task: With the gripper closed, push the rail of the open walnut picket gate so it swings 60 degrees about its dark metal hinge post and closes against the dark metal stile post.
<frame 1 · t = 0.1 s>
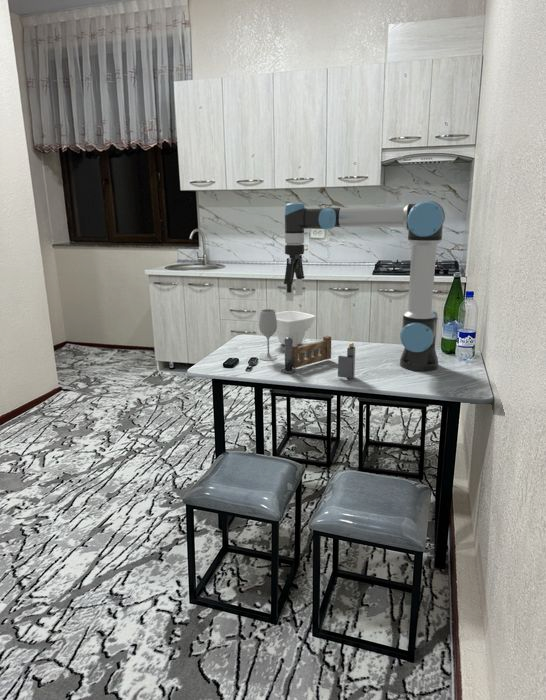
hand: (294, 297, 211), 28 cm above the table, fingers open, 13 cm apart
gate: (311, 351, 214), point 6 cm above the table, hinge at 60.0°
stile post: (350, 377, 200), on the table
bowl: (290, 345, 246), on the table
wineglass: (268, 358, 226), on the table
hinge post: (288, 371, 208), on the table
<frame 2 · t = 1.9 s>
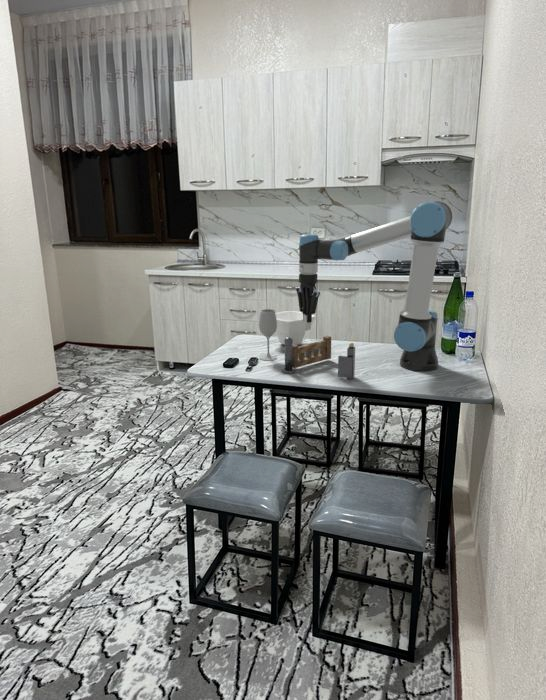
hand: (307, 329, 219), 13 cm above the table, fingers closed
nothing on the table moved.
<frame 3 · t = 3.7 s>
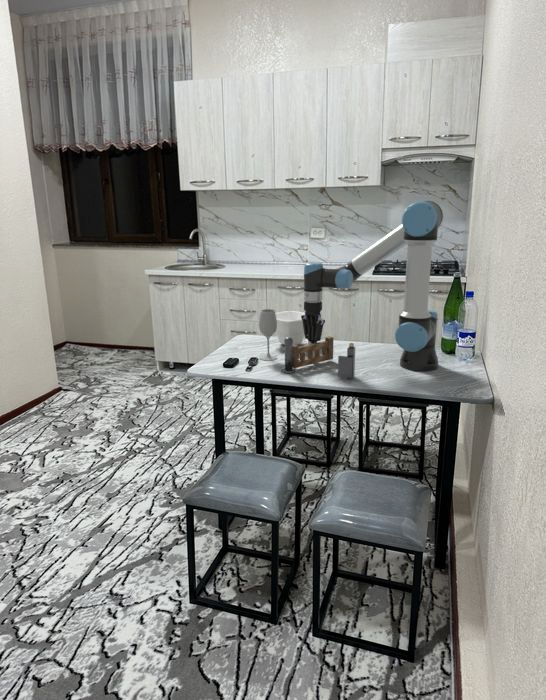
hand: (312, 356, 220), 2 cm above the table, fingers closed
gate: (312, 351, 214), point 6 cm above the table, hinge at 56.6°, touching gripper
everything else where it was.
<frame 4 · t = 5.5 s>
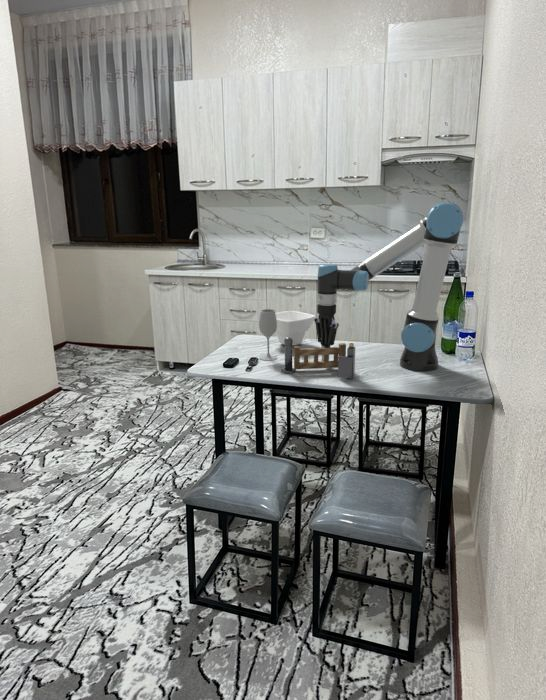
hand: (325, 360, 213), 3 cm above the table, fingers closed
gate: (319, 356, 208), point 6 cm above the table, hinge at 25.5°, touching gripper
everything else where it was.
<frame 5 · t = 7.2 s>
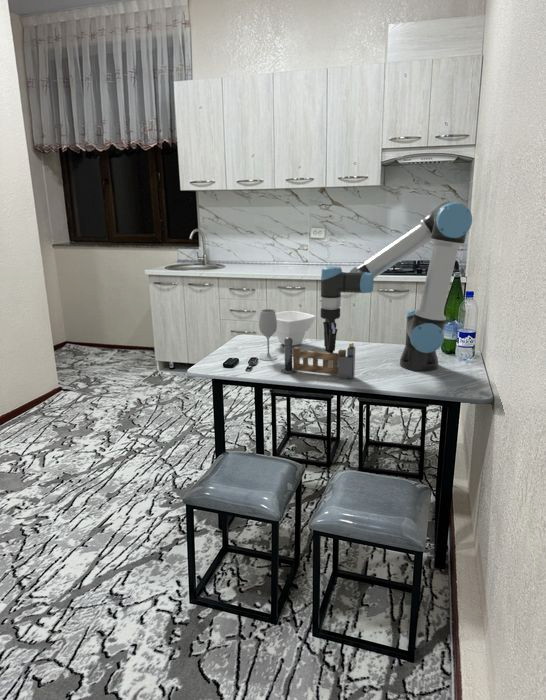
hand: (329, 366, 206), 3 cm above the table, fingers closed
gate: (319, 360, 202), point 6 cm above the table, hinge at -0.1°, touching gripper
everything else where it was.
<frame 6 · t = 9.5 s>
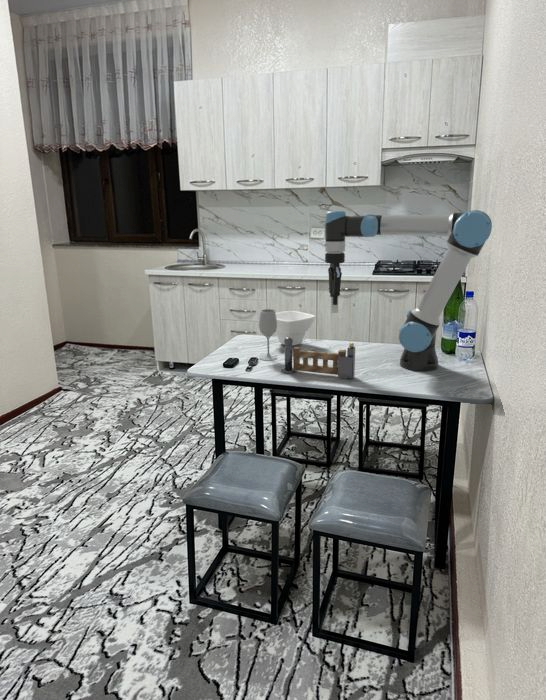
hand: (334, 312, 208), 22 cm above the table, fingers closed
gate: (319, 360, 202), point 6 cm above the table, hinge at -0.1°
everything else where it was.
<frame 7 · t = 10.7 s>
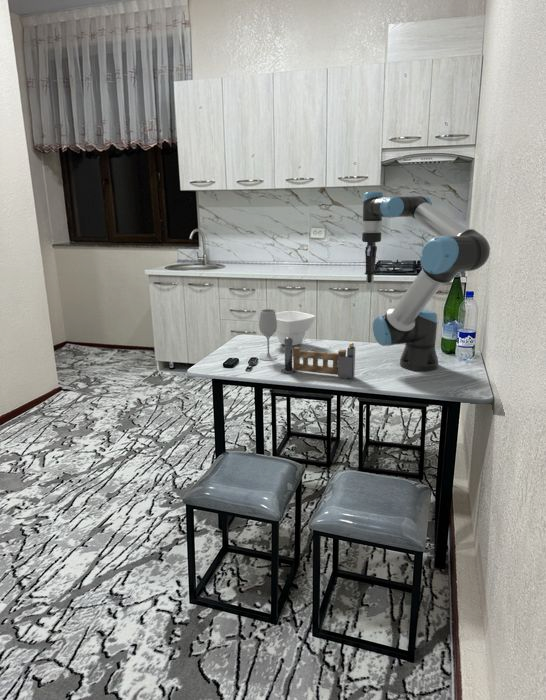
hand: (369, 290, 216), 29 cm above the table, fingers closed
nothing on the table moved.
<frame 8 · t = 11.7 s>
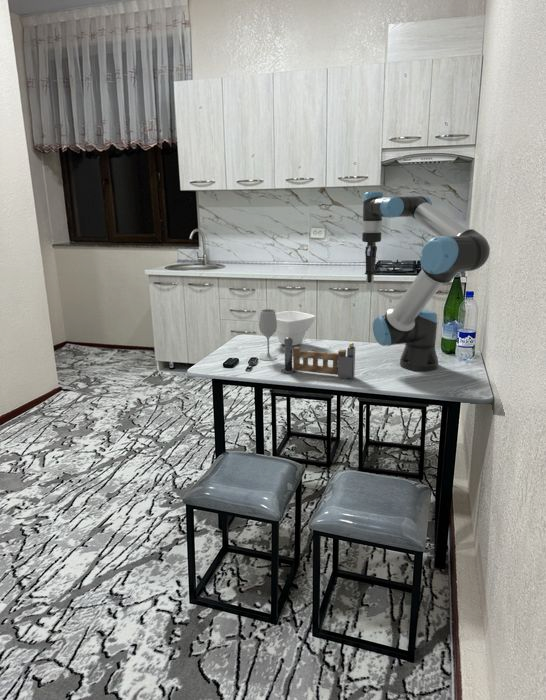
hand: (369, 289, 216), 29 cm above the table, fingers closed
nothing on the table moved.
at the end: gate at +0° (first picture: +60°) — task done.
